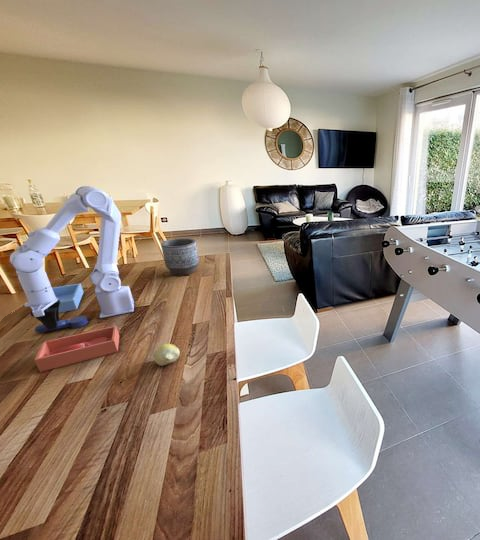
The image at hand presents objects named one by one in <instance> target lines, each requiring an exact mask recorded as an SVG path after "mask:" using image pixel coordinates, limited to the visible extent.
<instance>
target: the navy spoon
mask: <svg viewBox="0 0 480 540" xmlns="http://www.w3.org/2000/svg"><path fill="white" fill-rule="evenodd" d="M88 323H89V321H88V317H87V316H85V315H78V316H75V317H72V318H70V319H62V320H59V321H57V328H53V329H47V328H46V327H45V326H44V325H43V324H42V323H41V324H38V325H36V326H35V327H34V332H35V333H37V334H41V333H47V332H51V331H57V330H61V329H65V328H71V329H78V328H82V327H84V326H86V325H88Z"/></svg>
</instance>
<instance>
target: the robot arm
mask: <svg viewBox="0 0 480 540" xmlns="http://www.w3.org/2000/svg"><path fill="white" fill-rule="evenodd" d="M89 208H90V209H92V210H93V211H94V212H95V214H97V215H98V216H99V217H100V228H99V238H98V239H99V240H98V249H97V261H96V263H94V269H93V271H92V272H91V273H90V275H89V279H90V282H91V283H92V284H94V285H95V288H94V293H95V296H96V299H97V302H98V305H99V308H100V313H99V319H103V318H109V317H113V316H118V315H124V314H128V313H129V314H130V313H133V312H134V310H135V301H134V298H133V295H132V291H131V288H130V286H129V285H122V280H121V279H120V276H119V275H120V273H119V272H120V271H119V269H118V264H117V263H118V253H119V243H120V235H121V234H120V233H121V224H122V213H121V212H120V210H119V209H118V206H117V205H116V204H115V202H114V200H113V198H112V197H111V196H110V195H109V194H108V193H107V192H104V191H103V190H101V189H99V188H95V187H93V186H90V185H82V186H79V187H78V188H76V190H75V193H72V194H70V195H69V196H68V198H67V199H66V201H64V203H63V204H62V205H61V206H60V208H59V209H58V210H57V212H56V213H55V214H54V215H53V217H51V219H50V221H48V223H47V224H46V225H45V226H44V227H39V228H38V227H37V228H36V229H34V231H32V230H30V231H29V232H28V233H27V235H28V237H27V239H26V240H25V241H24V242H23V243H22V244H21V245H17V246H16V249H15V250H14V251H12V252H11V254H10V256H9V260H8V261H9V263H10V264H11V265H12V266H13V268H14V269H15V273H16V275H17V279H18V281H19V284H20V285H21V288H22V290H23V292H24V295H25V296H26V299H27V302H25V303H24V304H23V305H24V307H25V308H27V307H29V308H30V309H31V311H30V312H29V314H30V316H31V317H32V318H34V319H36V320H38V321H39V322H40V323H41V324H43V325H44V326H45V327H46V328H47V329H53V328H57V321H60V313H59V305H60V300H58V299H57V297H56V296H55V294H54V291H53V289H52V288H53V287H52V284H51V281H50V280H49V279H50V278H49V277H48V274H47V272H46V271H45V270H44V268H43V266H44V258H46V257H47V256H48V255H49V254H50V253H51V252H52V251H53V249H55V247H56V246H57V245H58V243H59V242H60V241H61V236H60V233H61V232H62V231H63V229H65V228H66V226H68V225H69V223H70V222H71V221H72V220H73V219H74V218H75V217H76V216H77V215H79V214H83V213H87V212H90V211H91V210H90V209H89Z"/></svg>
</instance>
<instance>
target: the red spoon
mask: <svg viewBox="0 0 480 540" xmlns="http://www.w3.org/2000/svg"><path fill="white" fill-rule="evenodd" d="M107 341H108V339H107V338H106V337H100V338H96V339H93V340H91V341H90V342H83V343H79V344H75V345H71V346H66V347H62V348H58V349H55V350H53V351H52V352H51V355H53V354H57V353H62V352H66V351H70V350H74V349H78V348H82V347H86V346H90V345H94V344H98V343H103V342H107Z"/></svg>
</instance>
